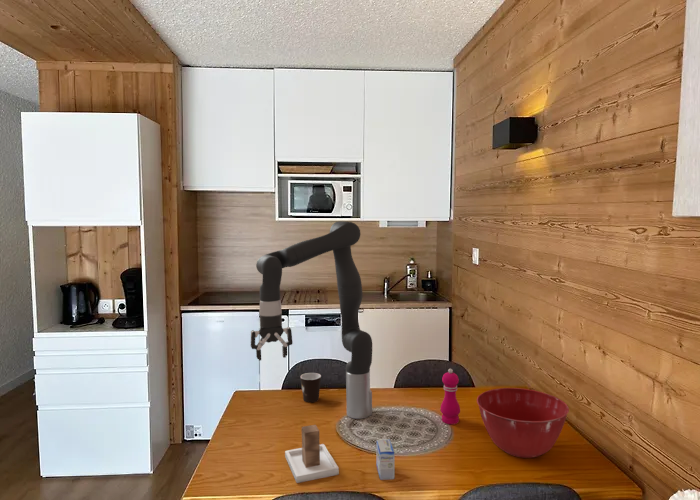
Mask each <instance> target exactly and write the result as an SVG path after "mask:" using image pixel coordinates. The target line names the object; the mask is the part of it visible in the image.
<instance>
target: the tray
mask: <svg viewBox="0 0 700 500" xmlns="http://www.w3.org/2000/svg"><path fill="white" fill-rule="evenodd" d="M284 457H285V459H286V462H287V464H288V466H289V469H290V471H291V474H292V477H294V481H295V483H296V484H299V483H304V482H308V481H313V480H318V479H323V478H329V477H333V476H338V475H340V473H339V472H340V470H339V469H340V468H339V466H338V465H337V463H336V461H335V459H334V458H333V456H332V455H331V454H330V452H329V451H328V449H327V447H326V445H325V444H324V443H321V444H320V465H318V466H313V467H307V468H306V467H305V465H304V463H303V461H302V447H299V448H293V449H289V450H285V451H284Z"/></svg>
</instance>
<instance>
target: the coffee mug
mask: <svg viewBox="0 0 700 500" xmlns="http://www.w3.org/2000/svg"><path fill="white" fill-rule="evenodd" d="M321 377H322V375H321V374H320V373H316V372H307V373H303V374H301V375H300V384H301V391H302V398H303V401H304V402H305V403H316V402H319V399H320V391H321Z"/></svg>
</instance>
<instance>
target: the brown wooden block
mask: <svg viewBox="0 0 700 500" xmlns="http://www.w3.org/2000/svg"><path fill="white" fill-rule="evenodd" d="M320 442H321V441H320V429H319V428H318V426H317V424H312V425H304V426H301V448H302V461H303V463H304V465H305V467H306V468H307V467H313V466H318V465H320Z"/></svg>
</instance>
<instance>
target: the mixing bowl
mask: <svg viewBox="0 0 700 500" xmlns="http://www.w3.org/2000/svg"><path fill="white" fill-rule="evenodd" d="M476 404H477V405H478V409H479V412H480V416H481V419H482V422H483V425H484V426H485V429H486V431H487V434H488V435H489V437H490V438H491V441H492V442H493V444H494V445H496V446H497V447H498V448H500V450H502V451H504V453H507V454H508V455H511V456H514V457H517V458H523V459H525V458H526V459H528V458H529V459H531V458H532V459H533V458H537V457H541V455H542V456H543V455H545V454H546V453H547V452H549V451H550V450H552V448H553V447H554V446H555V444H556V441H557V440H558V438H559V436H560V435H561V432H562V430H563V427H564V425H565V422H566V420H567V415H568V414H569V412H570V407H569V406H568V404H567V403H566V402H565V401H564V400H561V399H560V398H558V397H556V396H554V395H552V394H548V393H546V392H542V391H538V390H533V389H528V388H519V387H518V388H517V387H502V388H494V389H489V390H486V391H484V392H482V393H480V394H479V395H477V398H476Z"/></svg>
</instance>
